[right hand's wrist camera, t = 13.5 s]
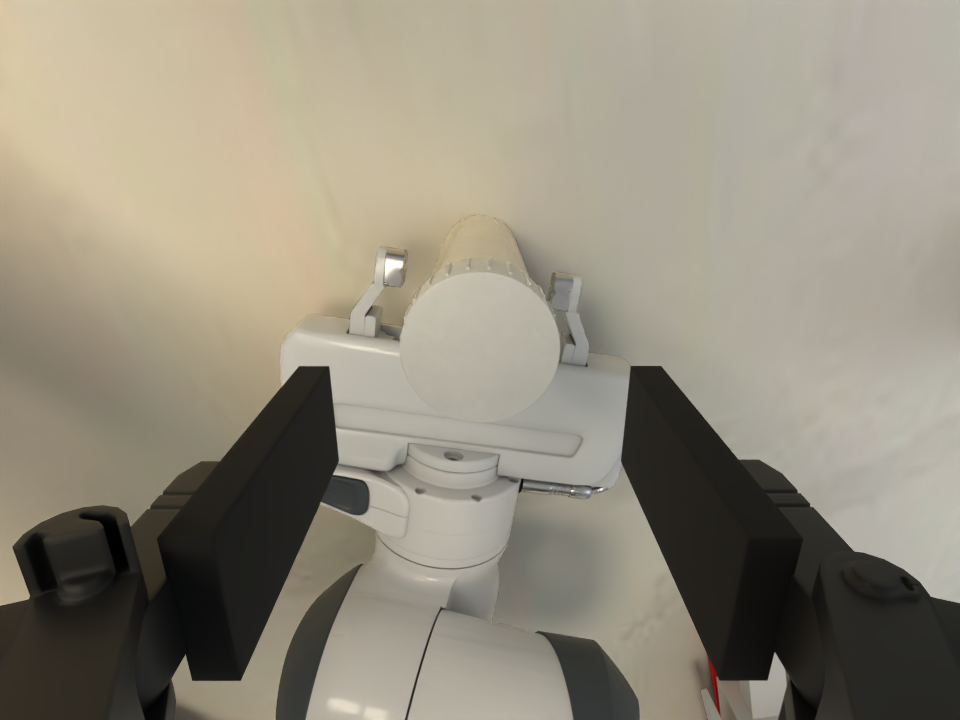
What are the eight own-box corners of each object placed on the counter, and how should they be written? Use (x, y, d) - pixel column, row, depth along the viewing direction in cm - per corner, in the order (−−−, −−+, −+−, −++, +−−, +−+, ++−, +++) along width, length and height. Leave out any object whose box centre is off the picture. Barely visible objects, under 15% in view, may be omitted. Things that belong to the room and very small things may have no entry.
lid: (386, 279, 20) (374, 296, 18) (533, 237, 20) (540, 249, 18) (432, 411, 22) (426, 441, 20) (568, 376, 22) (578, 402, 19)
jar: (432, 227, 35) (390, 299, 19) (506, 205, 35) (531, 259, 18) (455, 298, 37) (433, 424, 20) (525, 278, 37) (564, 391, 20)
